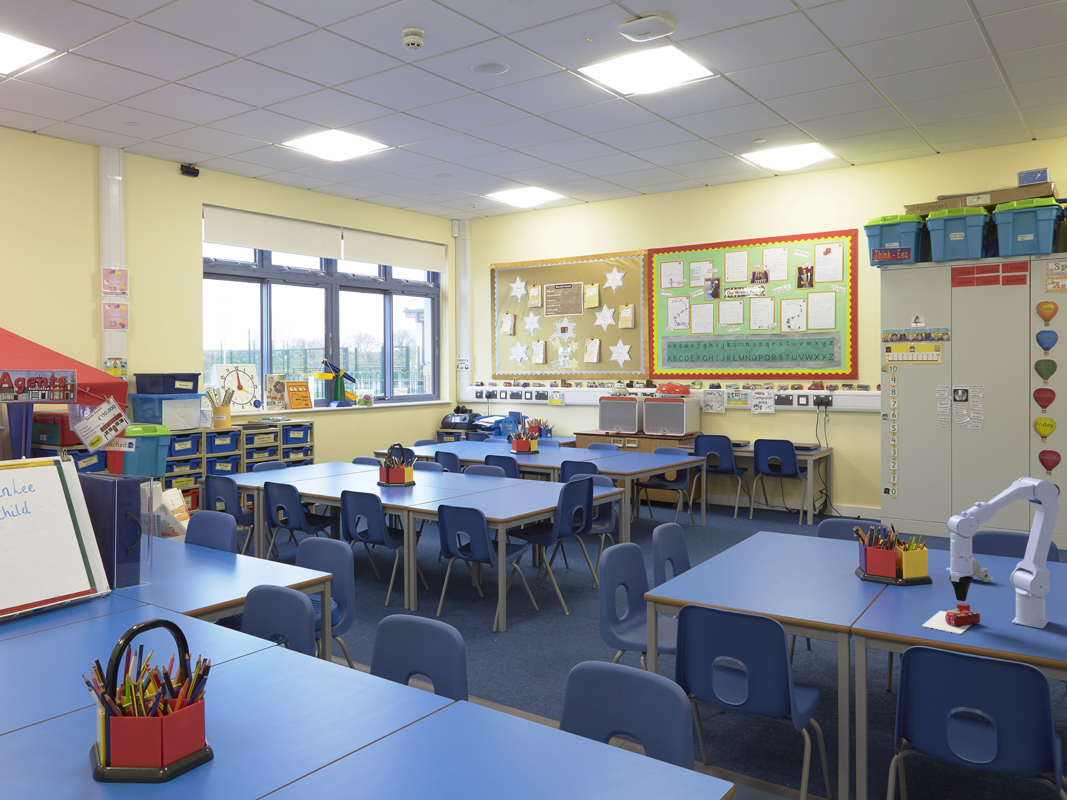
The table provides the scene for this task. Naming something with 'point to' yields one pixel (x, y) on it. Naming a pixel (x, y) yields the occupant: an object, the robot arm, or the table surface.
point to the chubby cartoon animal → (980, 571)
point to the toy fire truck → (962, 616)
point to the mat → (943, 624)
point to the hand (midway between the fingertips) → (961, 600)
